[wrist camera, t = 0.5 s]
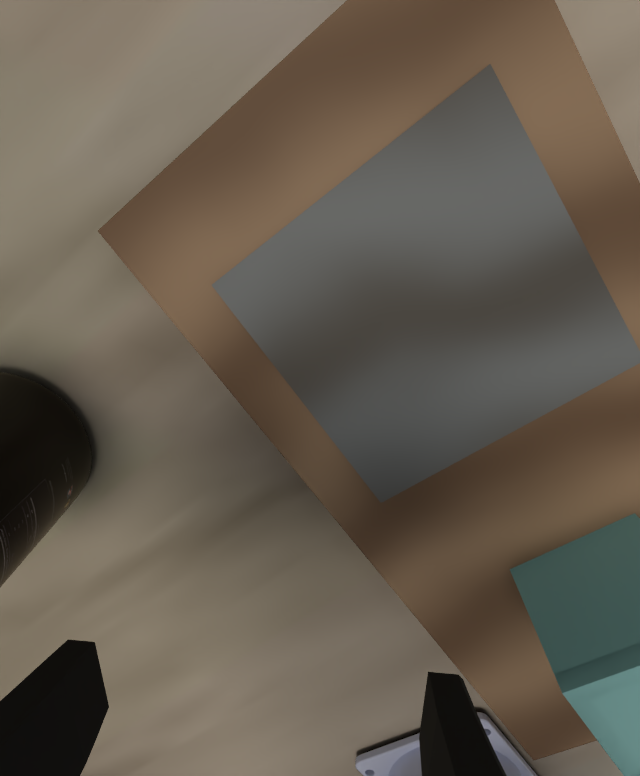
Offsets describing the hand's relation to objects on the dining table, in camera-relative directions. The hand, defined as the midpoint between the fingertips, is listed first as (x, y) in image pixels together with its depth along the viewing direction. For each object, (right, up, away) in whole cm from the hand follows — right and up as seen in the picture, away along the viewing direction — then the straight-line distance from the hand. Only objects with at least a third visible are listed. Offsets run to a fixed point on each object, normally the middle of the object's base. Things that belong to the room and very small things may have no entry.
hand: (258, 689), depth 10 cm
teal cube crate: (+12, -1, +8) cm, 15 cm away
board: (+9, +4, +8) cm, 13 cm away
